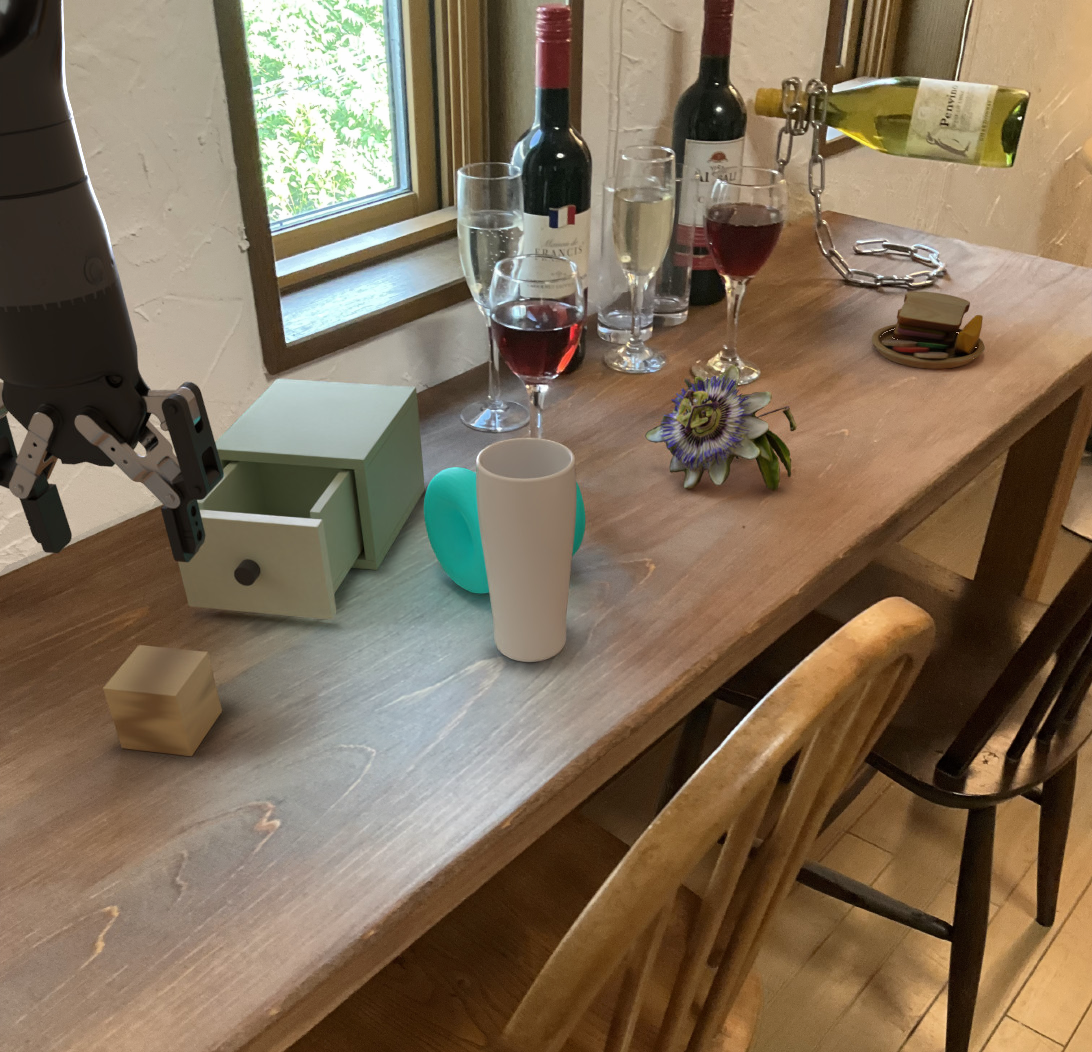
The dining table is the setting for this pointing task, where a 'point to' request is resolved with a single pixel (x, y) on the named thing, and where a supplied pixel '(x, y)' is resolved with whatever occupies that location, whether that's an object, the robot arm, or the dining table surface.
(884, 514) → the dining table surface
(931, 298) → the toy sandwich meal
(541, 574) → the drinking glass
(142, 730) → the block
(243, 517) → the drawer
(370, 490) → the cabinet
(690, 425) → the passion flower
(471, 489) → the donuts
